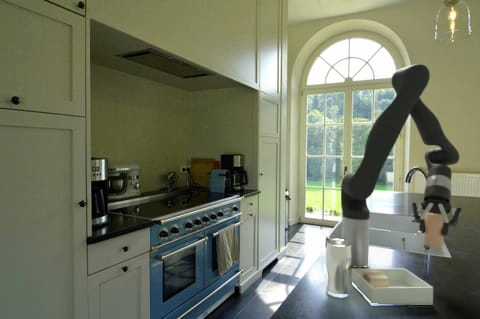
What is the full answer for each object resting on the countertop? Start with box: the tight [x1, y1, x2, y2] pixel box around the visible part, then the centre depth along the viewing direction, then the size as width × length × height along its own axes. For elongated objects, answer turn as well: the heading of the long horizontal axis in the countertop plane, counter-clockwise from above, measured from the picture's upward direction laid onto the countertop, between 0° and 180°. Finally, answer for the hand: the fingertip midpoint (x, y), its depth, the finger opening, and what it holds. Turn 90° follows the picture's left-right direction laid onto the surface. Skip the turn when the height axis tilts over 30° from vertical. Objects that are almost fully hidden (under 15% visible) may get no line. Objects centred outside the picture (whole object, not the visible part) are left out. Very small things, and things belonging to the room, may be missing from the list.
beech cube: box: [362, 271, 388, 288], centre depth 86 cm, size 5×5×5 cm
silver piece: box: [325, 238, 351, 294], centre depth 86 cm, size 7×7×15 cm
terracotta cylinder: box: [423, 212, 444, 249], centre depth 94 cm, size 5×5×10 cm
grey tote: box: [351, 267, 434, 305], centre depth 86 cm, size 17×13×5 cm
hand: (433, 233), depth 92 cm, fingers closed on terracotta cylinder, 5 cm apart
